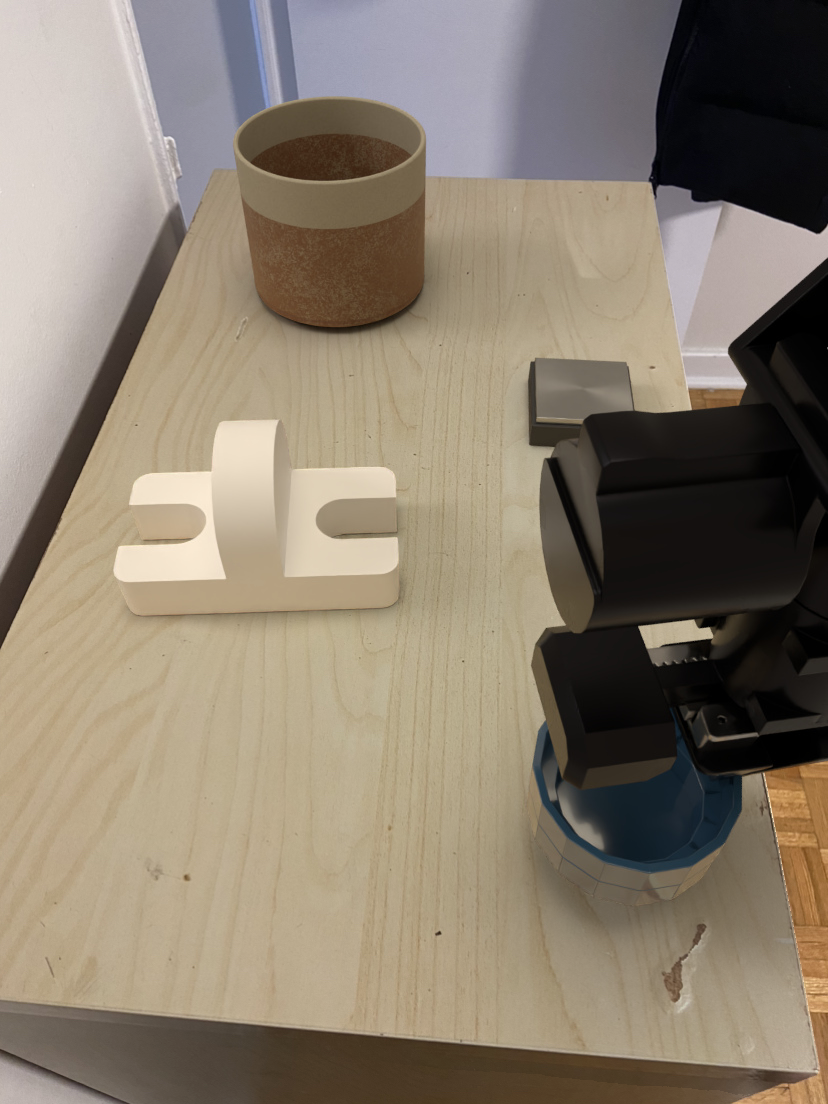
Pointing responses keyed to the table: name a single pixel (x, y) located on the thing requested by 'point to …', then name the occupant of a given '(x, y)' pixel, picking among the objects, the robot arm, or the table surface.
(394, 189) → the planter
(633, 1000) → the table surface
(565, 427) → the scale
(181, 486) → the slotted base with upright
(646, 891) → the bowl
